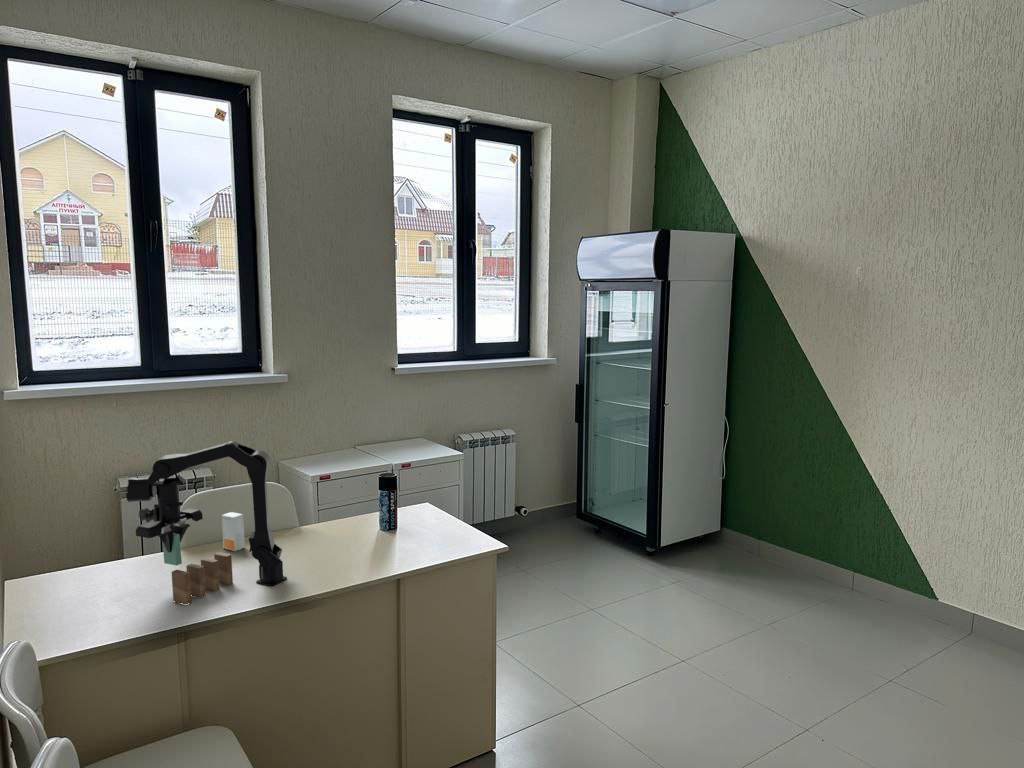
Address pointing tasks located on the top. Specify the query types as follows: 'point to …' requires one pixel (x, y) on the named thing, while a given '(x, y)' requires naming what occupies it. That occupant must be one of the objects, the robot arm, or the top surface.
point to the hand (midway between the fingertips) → (172, 551)
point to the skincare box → (233, 531)
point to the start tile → (173, 552)
